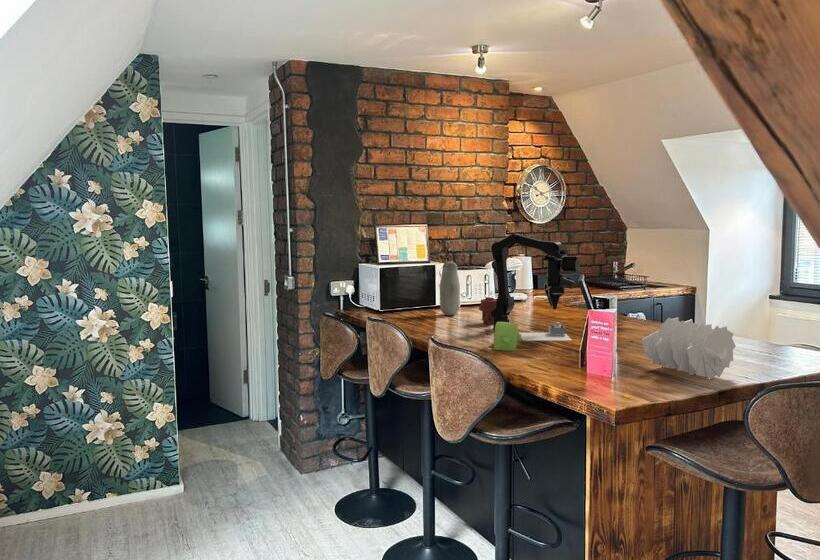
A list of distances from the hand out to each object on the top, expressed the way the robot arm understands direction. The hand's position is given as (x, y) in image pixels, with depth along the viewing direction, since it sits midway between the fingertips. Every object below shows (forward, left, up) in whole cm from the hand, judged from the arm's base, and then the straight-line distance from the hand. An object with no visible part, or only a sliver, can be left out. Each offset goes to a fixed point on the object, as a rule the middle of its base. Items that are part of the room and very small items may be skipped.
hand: (553, 307), depth 278 cm
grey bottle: (-44, +54, -12) cm, 71 cm away
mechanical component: (-25, +29, -12) cm, 40 cm away
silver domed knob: (+2, -2, -11) cm, 11 cm away
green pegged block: (-21, -28, -12) cm, 38 cm away
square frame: (+2, -2, -10) cm, 11 cm away
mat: (-4, -7, -12) cm, 14 cm away
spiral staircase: (+34, -66, -12) cm, 75 cm away
